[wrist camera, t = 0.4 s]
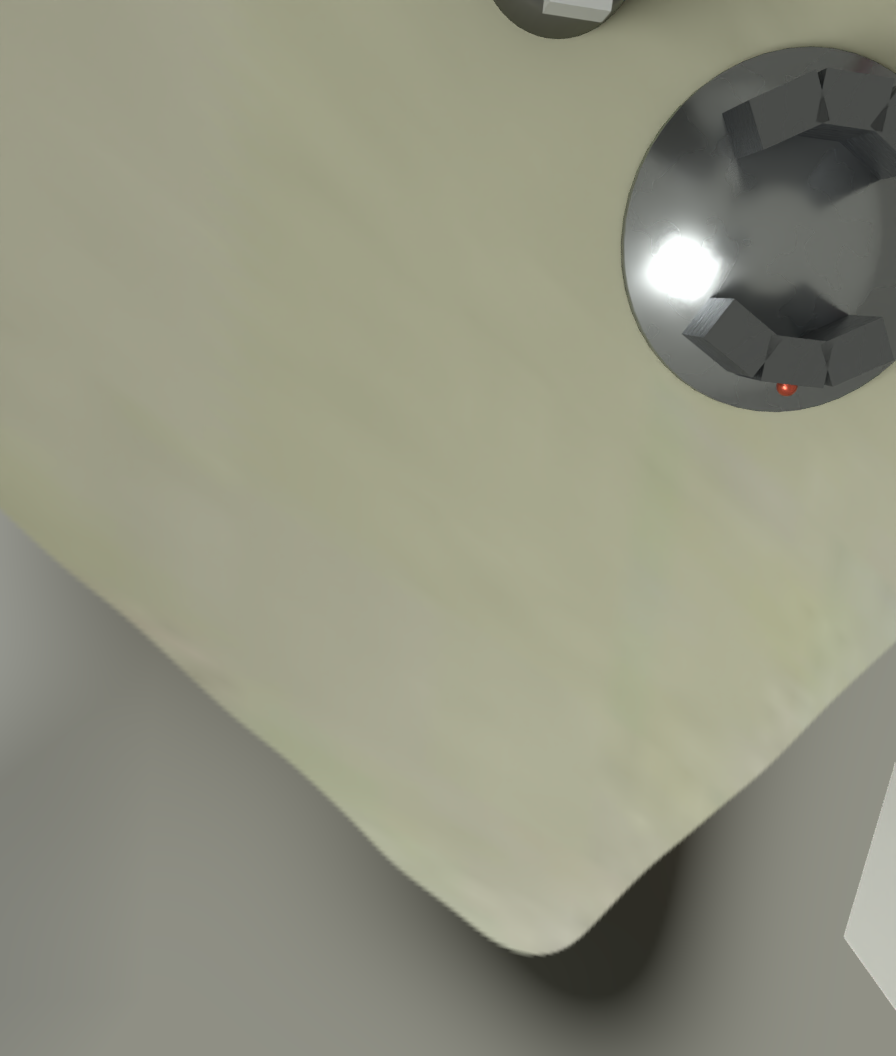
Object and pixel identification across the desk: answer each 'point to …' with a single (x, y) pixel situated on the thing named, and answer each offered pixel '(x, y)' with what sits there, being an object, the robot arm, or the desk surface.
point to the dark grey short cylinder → (558, 15)
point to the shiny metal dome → (770, 231)
